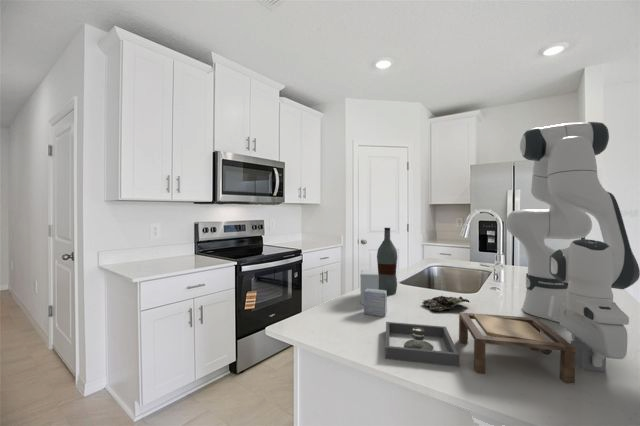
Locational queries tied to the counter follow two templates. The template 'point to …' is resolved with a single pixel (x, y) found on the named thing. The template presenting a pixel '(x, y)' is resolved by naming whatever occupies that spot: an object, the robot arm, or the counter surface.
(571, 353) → the trapdoor frame
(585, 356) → the stone block
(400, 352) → the cup mat rim
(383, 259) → the bottle
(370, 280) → the supplement box
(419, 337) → the grey knobbed disc
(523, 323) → the trapdoor
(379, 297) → the medicine box
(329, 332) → the counter surface
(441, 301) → the decorative rock
